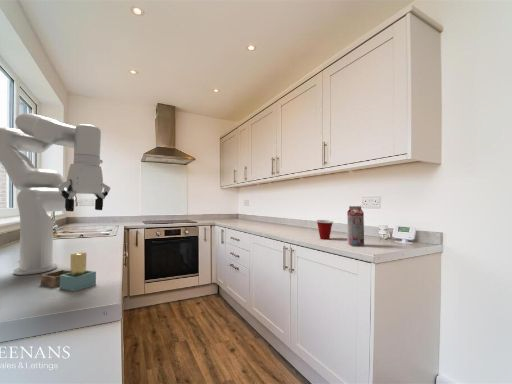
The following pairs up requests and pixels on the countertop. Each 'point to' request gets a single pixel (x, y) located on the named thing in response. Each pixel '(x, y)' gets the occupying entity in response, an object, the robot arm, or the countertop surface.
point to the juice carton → (355, 226)
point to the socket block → (52, 278)
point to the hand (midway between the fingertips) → (84, 210)
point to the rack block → (77, 281)
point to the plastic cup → (324, 228)
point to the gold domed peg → (78, 264)
